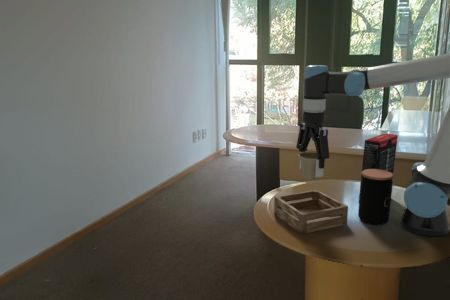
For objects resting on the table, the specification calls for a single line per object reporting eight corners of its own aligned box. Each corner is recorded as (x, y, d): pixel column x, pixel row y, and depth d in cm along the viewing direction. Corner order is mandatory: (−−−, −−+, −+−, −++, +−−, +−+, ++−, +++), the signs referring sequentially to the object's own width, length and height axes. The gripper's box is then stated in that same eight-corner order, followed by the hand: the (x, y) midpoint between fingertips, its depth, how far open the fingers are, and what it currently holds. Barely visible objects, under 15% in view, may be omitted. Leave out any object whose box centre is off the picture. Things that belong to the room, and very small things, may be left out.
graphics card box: (376, 193, 171) (381, 132, 165) (392, 197, 167) (398, 134, 160) (357, 204, 160) (362, 139, 153) (374, 209, 155) (380, 141, 148)
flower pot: (295, 180, 140) (296, 157, 138) (299, 173, 149) (300, 150, 147) (322, 183, 137) (324, 159, 135) (325, 175, 146) (326, 152, 144)
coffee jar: (387, 228, 139) (392, 179, 134) (356, 223, 143) (359, 175, 138) (389, 216, 148) (394, 170, 144) (359, 212, 152) (363, 167, 148)
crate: (346, 224, 142) (348, 206, 140) (301, 234, 135) (302, 215, 133) (315, 206, 159) (316, 189, 157) (274, 213, 152) (274, 196, 150)
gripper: (343, 114, 128) (339, 180, 134) (305, 106, 148) (302, 163, 154) (324, 116, 126) (320, 183, 131) (288, 107, 145) (285, 165, 151)
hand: (310, 172), depth 142 cm, fingers closed on flower pot, 9 cm apart
